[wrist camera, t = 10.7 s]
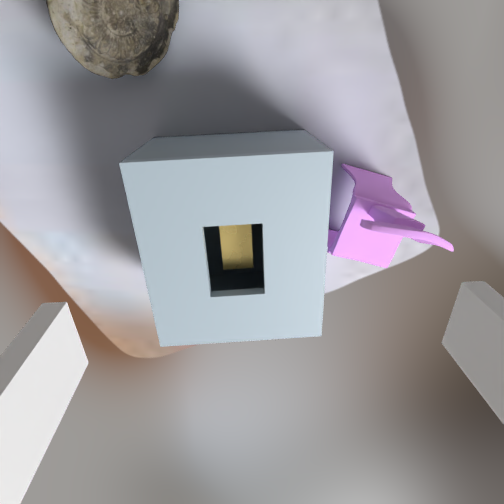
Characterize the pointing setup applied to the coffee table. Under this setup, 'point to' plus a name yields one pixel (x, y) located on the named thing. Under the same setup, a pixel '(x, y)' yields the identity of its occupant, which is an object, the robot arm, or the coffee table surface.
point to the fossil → (115, 33)
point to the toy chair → (377, 222)
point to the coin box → (232, 213)
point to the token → (236, 246)
